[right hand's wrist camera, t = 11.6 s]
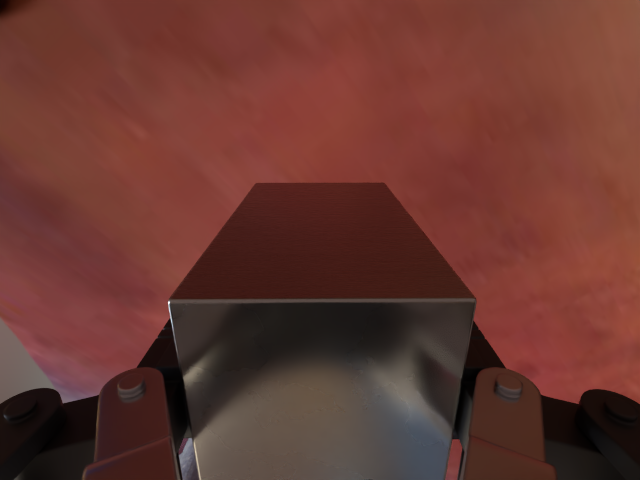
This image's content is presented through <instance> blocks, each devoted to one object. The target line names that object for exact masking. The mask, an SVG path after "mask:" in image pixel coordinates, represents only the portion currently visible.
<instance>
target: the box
mask: <svg viewBox="0 0 640 480" xmlns="http://www.w3.org/2000/svg"><path fill="white" fill-rule="evenodd" d="M168 305H169V311H170V317H171V323H172V328H173V334H174V340H175V345H176V351H177V357H178V363H179V368H180V374H181V380H182V385H183V391H184V397H185V403H186V408H187V414H188V420H189V426H190V431H191V437H192V443H193V448H194V454H195V460H196V466H197V471H198V477H199V480H445V477H446V472H447V466H448V460H449V455H450V449H451V443H452V438H453V432H454V426H455V421H456V415H457V409H458V404H459V398H460V393H461V387H462V381H463V376H464V370H465V364H466V359H467V353H468V347H469V342H470V336H471V330H472V325H473V319H474V314H475V308H476V298H475V297H474V295H473V294H472V293H471V292H470V290H469V289H468V288H467V286H466V285H465V284H464V283H463V281H462V280H461V279H460V278H459V276H458V275H457V274H456V273H455V271H454V270H453V269H452V268H451V266H450V265H449V264H448V262H447V261H446V260H445V259H444V257H443V256H442V255H441V254H440V252H439V251H438V250H437V249H436V247H435V246H434V245H433V244H432V242H431V241H430V240H429V239H428V237H427V236H426V235H425V233H424V232H423V231H422V230H421V228H420V227H419V226H418V225H417V223H416V222H415V221H414V220H413V218H412V217H411V216H410V215H409V213H408V212H407V211H406V210H405V208H404V207H403V206H402V204H401V203H400V202H399V201H398V199H397V198H396V197H395V196H394V194H393V193H392V192H391V191H390V189H389V188H388V187H387V186H386V184H385V183H256V184H255V185H254V186H253V188H252V189H251V190H250V192H249V193H248V194H247V196H246V197H245V198H244V200H243V201H242V202H241V204H240V205H239V206H238V208H237V209H236V210H235V212H234V213H233V214H232V216H231V217H230V218H229V220H228V221H227V222H226V224H225V225H224V226H223V228H222V229H221V230H220V232H219V233H218V234H217V236H216V237H215V238H214V240H213V241H212V242H211V244H210V245H209V246H208V248H207V249H206V250H205V252H204V253H203V254H202V256H201V257H200V258H199V260H198V261H197V262H196V264H195V265H194V266H193V268H192V269H191V270H190V272H189V273H188V274H187V276H186V277H185V278H184V280H183V281H182V282H181V284H180V285H179V286H178V288H177V289H176V290H175V292H174V293H173V294H172V296H171V297H170V298H169V300H168Z"/></svg>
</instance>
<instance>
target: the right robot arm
mask: <svg viewBox="0 0 640 480" xmlns="http://www.w3.org/2000/svg"><path fill="white" fill-rule="evenodd" d="M183 438H192V437H191V431H190V426H189V420H188V414H187V408H186V403H185V397H184V391H183V385H182V380H181V374H180V368H179V363H178V357H177V351H176V345H175V340H174V334H173V328H172V323H171V317H170V319H169V320H168V322H167V323H166V325H165V326H164V329H163V330H162V331H161V332H160V334H159V335H158V338H157V339H156V340H155V341H154V343H153V344H152V346H151V347H150V348H149V350H148V351H147V353H146V354H145V356H144V357H143V359H142V360H141V362H140V363H139V365H138V366H137V368H135V369H131V370H128V371H125V372H123V373H121V374H119V375H117V376H115V377H114V378H112V379H111V380H110V381H109V382H107V383H106V384H105V386H104V387H103V388H102V390H101V391H100V394H99V395H97V396H94V397H89V398H85V399H81V400H76V401H72V402H68V403H64V404H63V403H62V400H61V397H60V394H59V393H58V392H57V391H56V390H54V389H50V388H39V389H33V390H29V391H26V392H23V393H20V394H18V395H16V396H13V397H11V398H9V399H8V400H6V401H4V402H3V403H1V404H0V480H183V477H182V470H181V464H180V458H179V453H178V451H179V448H180V446H181V443H182V441H183ZM452 439H459V440H460V442H461V445H462V447H463V448H462V453H461V458H460V464H459V470H458V476H457V480H640V404H638V403H637V402H635V401H633V400H632V399H630V398H628V397H625V396H623V395H621V394H618V393H615V392H611V391H607V390H600V389H593V390H588V391H586V392H584V393H583V394H582V396H581V399H580V402H579V404H576V403H571V402H567V401H563V400H558V399H554V398H550V397H546V396H543V395H541V394H540V391H539V390H538V388H537V387H536V386H535V384H534V383H533V382H531V381H530V380H529V379H528V378H526V377H525V376H523V375H521V374H519V373H517V372H515V371H512V370H509V369H506V367H505V366H504V365H503V363H502V362H501V360H500V359H499V357H498V356H497V354H496V353H495V351H494V350H493V348H492V347H491V346H490V344H489V343H488V341H487V340H486V339H485V337H484V335H483V334H482V332H481V331H480V330H479V329H478V327H477V325H476V324H475V322H474V321H473V325H472V330H471V336H470V342H469V347H468V353H467V359H466V364H465V370H464V376H463V381H462V387H461V393H460V398H459V404H458V409H457V415H456V421H455V426H454V432H453V438H452Z"/></svg>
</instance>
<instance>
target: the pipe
mask: <svg viewBox="0 0 640 480" xmlns="http://www.w3.org/2000/svg"><path fill="white" fill-rule="evenodd" d="M179 458H180V464H181V470H182V477H183V480H199V477H198V471H197V466H196V460H195V454H194V448H193V443H192V438H189V439H188V441H187V443H186V445H185V448H184V450H183V452H182V453H181V454H180V455H179Z"/></svg>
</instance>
